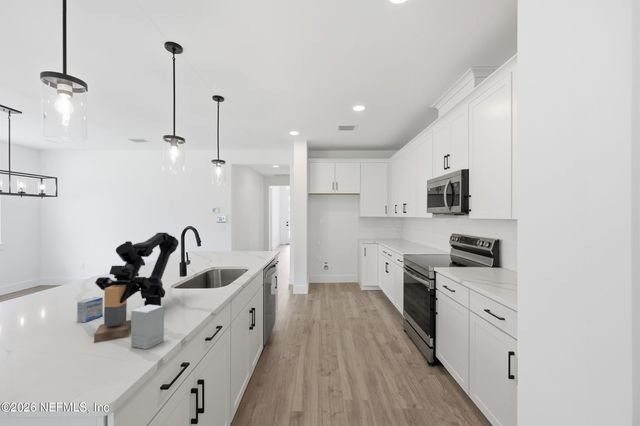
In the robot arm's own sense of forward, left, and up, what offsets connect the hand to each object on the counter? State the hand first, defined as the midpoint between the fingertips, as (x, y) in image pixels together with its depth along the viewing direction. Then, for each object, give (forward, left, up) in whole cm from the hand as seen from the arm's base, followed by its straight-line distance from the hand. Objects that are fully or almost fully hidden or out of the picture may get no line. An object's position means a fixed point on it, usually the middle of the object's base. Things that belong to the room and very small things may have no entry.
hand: (113, 302), depth 107 cm
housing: (-1, -1, -8) cm, 8 cm away
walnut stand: (0, 0, -12) cm, 12 cm away
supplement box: (-12, +15, -12) cm, 23 cm away
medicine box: (+12, -25, -12) cm, 31 cm away
